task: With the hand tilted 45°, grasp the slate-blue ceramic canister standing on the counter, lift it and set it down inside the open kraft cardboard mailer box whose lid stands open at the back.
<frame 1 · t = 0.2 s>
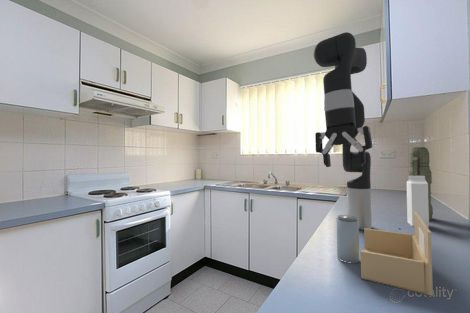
hand: (344, 166, 63), 28 cm above the counter, tool pointing down, fingers open, 8 cm apart
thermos: (420, 218, 111), on the counter
milk: (417, 225, 100), on the counter
canister: (348, 258, 68), on the counter
mailer: (389, 267, 62), on the counter
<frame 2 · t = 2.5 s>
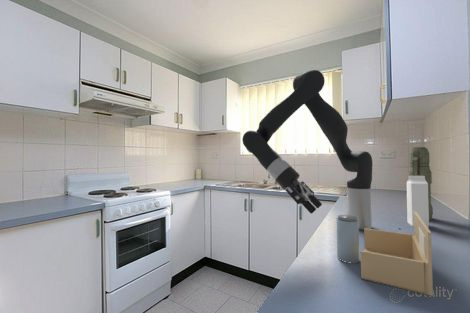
hand: (317, 208, 73), 14 cm above the counter, tool tilted 45°, fingers open, 8 cm apart
nothing on the counter moved.
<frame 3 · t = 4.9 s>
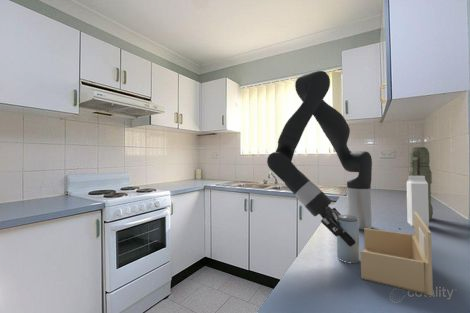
hand: (354, 240, 67), 6 cm above the counter, tool tilted 45°, fingers closed on canister, 6 cm apart
canister: (348, 258, 68), on the counter, touching gripper
everything else where it was.
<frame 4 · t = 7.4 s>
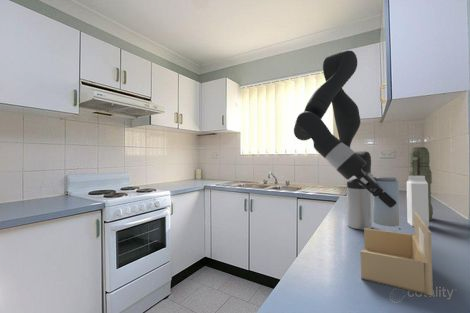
hand: (392, 203, 62), 18 cm above the counter, tool tilted 45°, fingers closed on canister, 6 cm apart
canister: (386, 223, 63), point 12 cm above the counter, touching gripper
everything else where it was.
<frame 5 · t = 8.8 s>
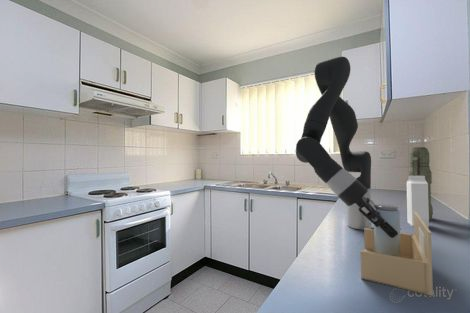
hand: (394, 232, 62), 10 cm above the counter, tool tilted 45°, fingers closed on canister, 6 cm apart
canister: (387, 251, 63), point 4 cm above the counter, touching gripper
everything else where it was.
when the fingers open (7 cm above the counter, at t = 9.9 s): canister drops 1 cm, resting on mailer.
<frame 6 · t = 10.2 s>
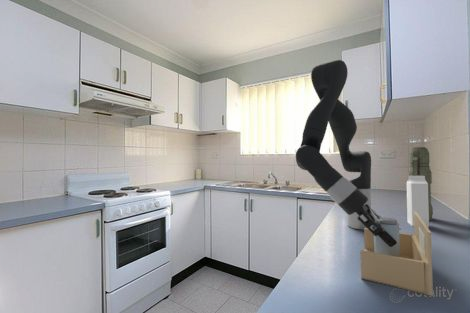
hand: (393, 239, 62), 8 cm above the counter, tool tilted 45°, fingers open, 8 cm apart
canister: (387, 265, 63), resting on mailer
everything else where it was.
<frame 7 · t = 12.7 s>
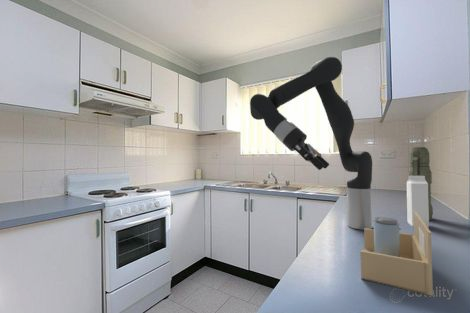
hand: (324, 167, 73), 28 cm above the counter, tool tilted 45°, fingers open, 8 cm apart
nothing on the counter moved.
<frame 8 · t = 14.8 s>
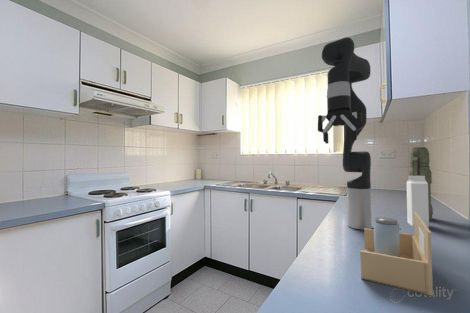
hand: (339, 142, 79), 36 cm above the counter, tool pointing down, fingers open, 8 cm apart
nothing on the counter moved.
at the end: canister inside the target area (0.7 cm from its centre), resting on mailer; canister tilted 0°; the gripper is holding nothing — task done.
